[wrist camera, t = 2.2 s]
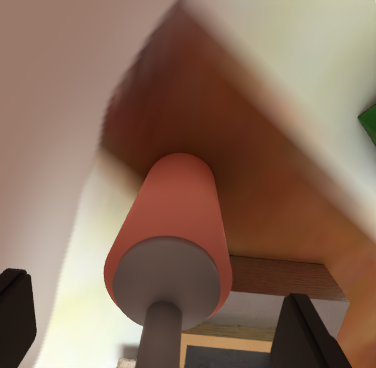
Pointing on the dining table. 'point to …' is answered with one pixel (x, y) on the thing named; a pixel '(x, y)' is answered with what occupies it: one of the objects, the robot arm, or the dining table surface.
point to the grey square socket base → (257, 313)
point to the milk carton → (369, 122)
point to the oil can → (170, 258)
